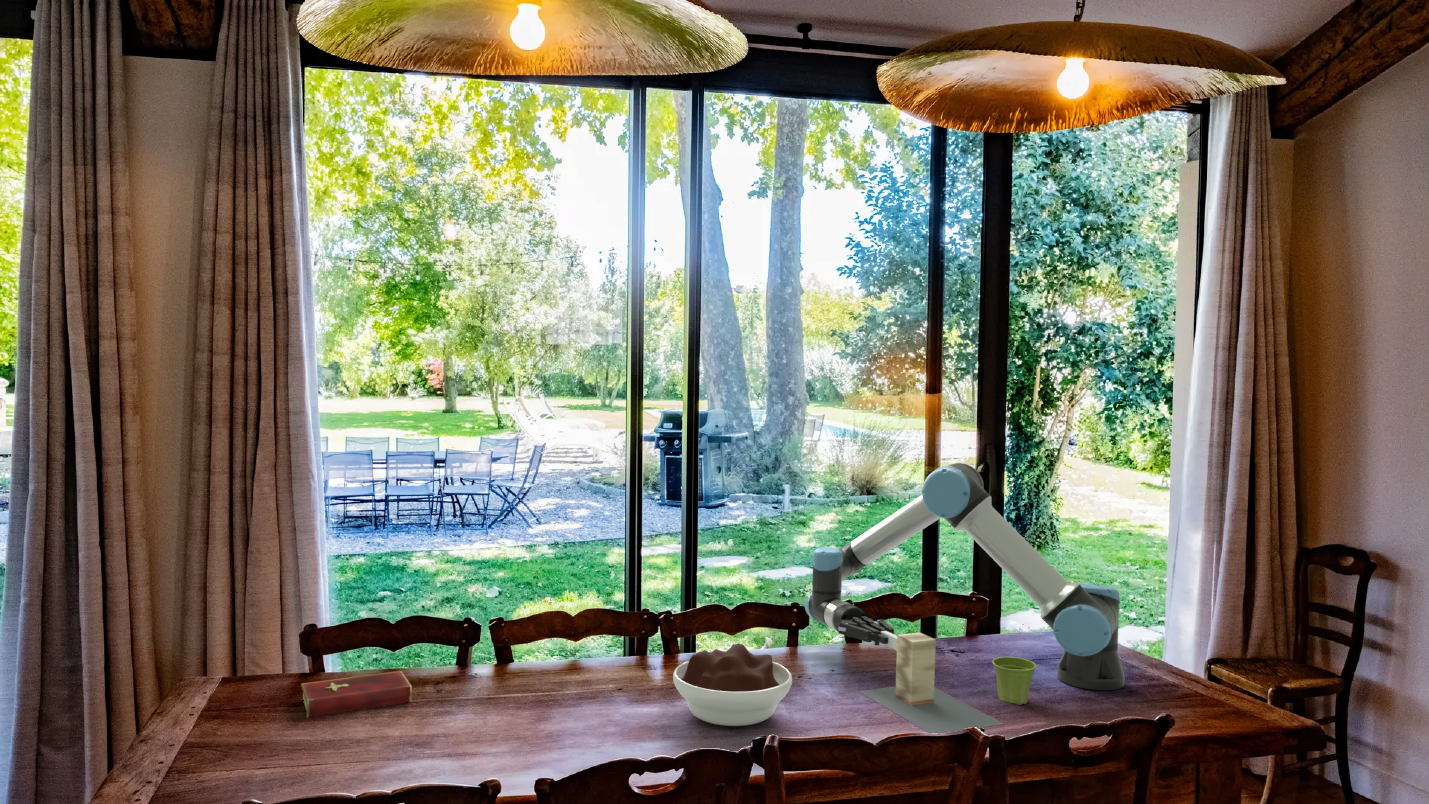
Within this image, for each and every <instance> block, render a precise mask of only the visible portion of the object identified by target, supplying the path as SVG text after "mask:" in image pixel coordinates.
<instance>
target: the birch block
mask: <svg viewBox="0 0 1429 804" xmlns="http://www.w3.org/2000/svg"><path fill="white" fill-rule="evenodd" d="M896 636H897V651H896V664H895V686H896V695H895V697H897V698H898V699H900V700H902V701H904V702H906V703H907V704H909V705H911V706H912V705H919V704H926V703H933V702H934V687H935V681H936V680H935V679H936V678H935V676H936V675H935V673H936V671H935V669H936V644H937V642H936V639H935V638H933V637H931V636H929V635H926V634H924V633H922V632H912V633H903V634H902V633H901V634H897V635H896Z"/></svg>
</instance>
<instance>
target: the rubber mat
mask: <svg viewBox="0 0 1429 804" xmlns="http://www.w3.org/2000/svg"><path fill="white" fill-rule="evenodd" d="M858 692H859V693H861V694H862V695H865V696H866V697H868V698H870V699H871V700H873V701H874V702H876V703H878V704H879V705H881V706H883V707H885V708H886V709H888V710H890V711H891V712H893V713H895V714H896V715H898V716H899V717H902V718H903V719H905V720H907V721H908V722H910V723H911V724H913V725H915V726H916V727H918V728H920V729H922V730H923V731H924V732H926V733H927V734H930V733H946V734H949V733H948V732H952V733H956V732H955V731H958V732H963V731H962V730H963V729H964V728H968V727H978V728H977V729H982V728H989V727H990V728H991V727H995V726H1000V725H1001V726H1002V725H1005V723H1004V722H1002V721H1000V720H998V719H996V718H994V717H992V716H991V715H989V714H987V713H985V712H983V711H981V710H979V709H977V708H975V707H973V706H971V705H970V704H968V703H966V702H963V701H962V700H960V699H957V698H956V697H954V696H952V695H950V694H948V693H947V692H945V691H942V690H940V689H939V688H936V687H935V686H934V702H933V703H926V704H919V705H912V706H911V705H909V704H907V703H906V702H904V701H902V700H900V699H898V698H897V697H895V695H896V685H895V686H894V685H893V686H889V687H880V688H872V689H863V690H859V691H858Z"/></svg>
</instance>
